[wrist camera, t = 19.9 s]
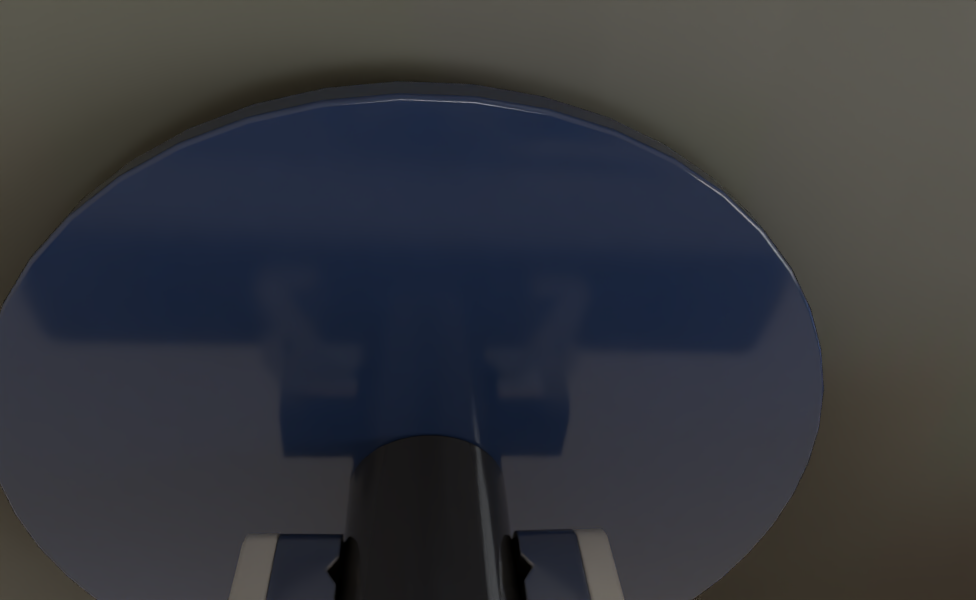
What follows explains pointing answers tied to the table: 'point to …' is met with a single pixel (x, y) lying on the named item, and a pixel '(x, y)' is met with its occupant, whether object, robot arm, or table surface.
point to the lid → (405, 352)
